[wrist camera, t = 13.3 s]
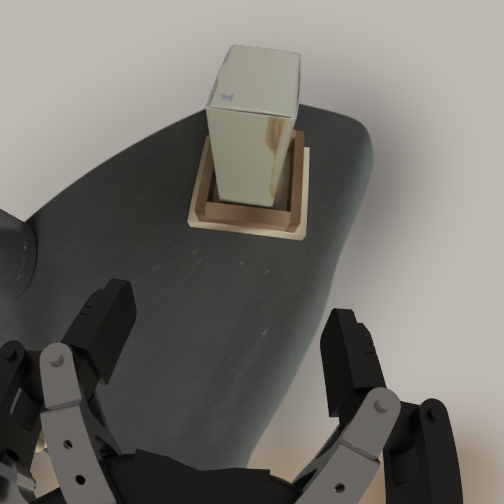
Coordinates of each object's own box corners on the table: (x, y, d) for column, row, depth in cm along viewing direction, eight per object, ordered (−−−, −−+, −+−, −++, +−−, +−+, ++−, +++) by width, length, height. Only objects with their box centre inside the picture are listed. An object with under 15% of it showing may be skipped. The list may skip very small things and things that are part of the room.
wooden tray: (190, 226, 24) (181, 210, 20) (208, 143, 26) (204, 119, 22) (301, 240, 24) (313, 226, 20) (306, 155, 26) (315, 132, 22)
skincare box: (270, 218, 23) (298, 125, 11) (219, 210, 23) (201, 112, 11) (279, 155, 24) (303, 50, 12) (233, 148, 24) (230, 41, 12)
